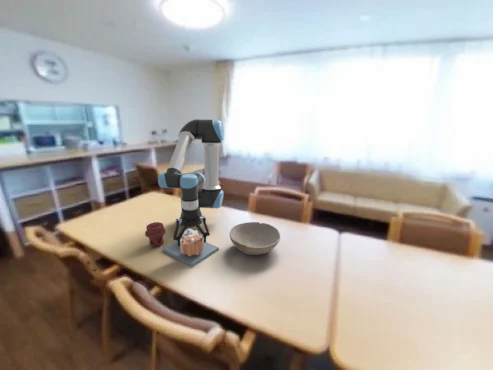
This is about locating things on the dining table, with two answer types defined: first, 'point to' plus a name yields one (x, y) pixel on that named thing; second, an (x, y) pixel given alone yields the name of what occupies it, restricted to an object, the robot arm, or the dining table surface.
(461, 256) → the dining table surface
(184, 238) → the white gear
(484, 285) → the dining table surface
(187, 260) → the gear board
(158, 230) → the mechanical component
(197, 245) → the terracotta gear
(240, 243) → the bowl
